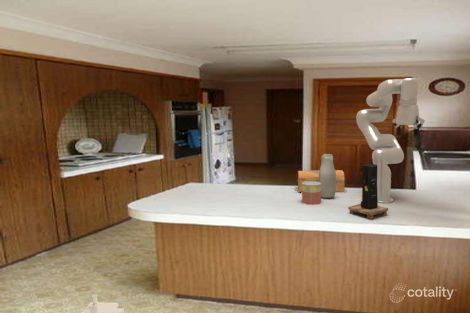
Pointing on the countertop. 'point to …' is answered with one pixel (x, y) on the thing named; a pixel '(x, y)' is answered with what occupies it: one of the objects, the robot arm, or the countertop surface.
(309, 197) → the canned food
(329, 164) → the grey bottle
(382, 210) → the stand
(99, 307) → the bracket
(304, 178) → the wooden box
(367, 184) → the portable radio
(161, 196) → the countertop surface
